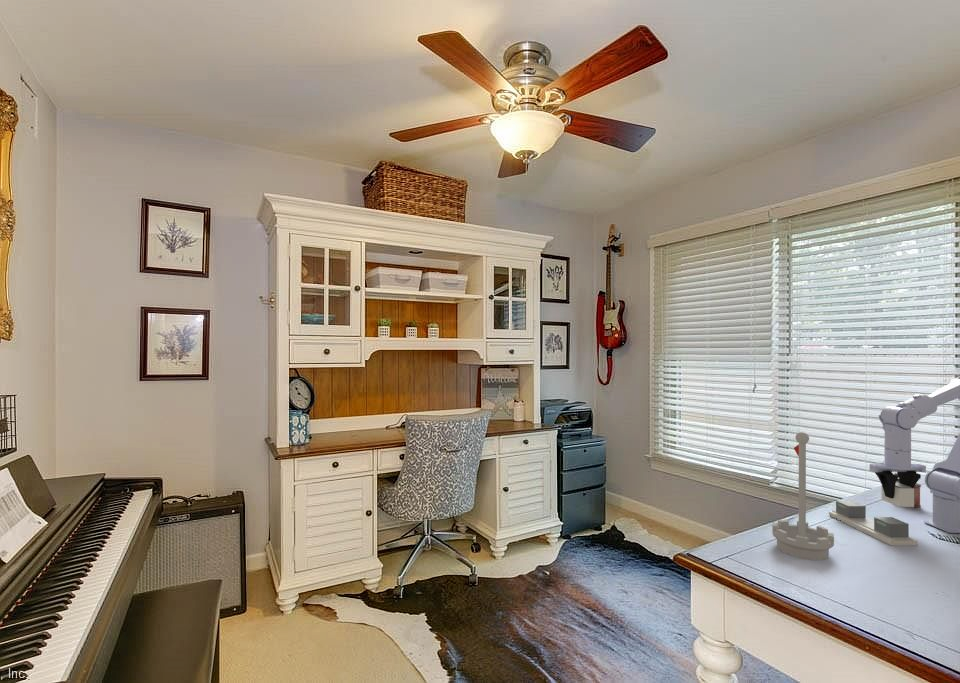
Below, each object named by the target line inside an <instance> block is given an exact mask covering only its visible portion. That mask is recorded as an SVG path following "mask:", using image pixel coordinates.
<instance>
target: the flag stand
mask: <svg viewBox="0 0 960 683" xmlns="http://www.w3.org/2000/svg"><path fill="white" fill-rule="evenodd" d="M795 440H796V442H797V443H798V444H797V445H795V446H794V447H793V449H794V451H795V453H796V455H797V456H798V520H796V524H790V522H789V520H787V519H780V520H777V523H776V522H773V523H772V524H771V525H772V530H771V531H772V532H771V533H772V536H773V537H774V538H775V539H776V547H777V548H778V549H779V550H780V551H781V552H783V553H785V554H786V555H790V556H793V557H796V558H800V559H804V560H812V561H815V560H816V561H819V560H820V561H822V560H821V559H823V560H826V559H828V558H829V557H830V549H831V548H833V547H834V546H835V534H834V533H833V532H829V529H828V528H826V527H824V526H821V525H816V528H815V527H810V526H809V522H807V516H806V514H807V512H806V511H807V504H806V503H807V502H806V501H807V499H806V498H807V497H806V496H807V491H806V490H807V486H806V485H807V482H806V481H807V473H806V472H807V443H808V442H809V441H810V436H809V435H808V434H807V433H806V432H803V431H801V432H798V433H796V434H795ZM828 556H829V557H828Z"/></svg>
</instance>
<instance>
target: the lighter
mask: <svg viewBox="0 0 960 683" xmlns="http://www.w3.org/2000/svg"><path fill="white" fill-rule="evenodd" d="M893 474H894V475H897V476H898V474H897V472H893ZM896 482H898V483H900V481H899V477H898V478H897V481H896ZM921 487H922V485H921V484H920V483H918V482H917V483H916V484H915V486H914V488H913V489H914V507H910V508H912V509H915V510H916V509H922V505H921Z"/></svg>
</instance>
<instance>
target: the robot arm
mask: <svg viewBox="0 0 960 683" xmlns="http://www.w3.org/2000/svg"><path fill="white" fill-rule="evenodd" d="M957 399H958V400H959V401H960V376H957V377H956V378H952V379H950V381H949V383H948V384H946V385H944V386H942V387H941V388H939V389H937V390H935V391H934V392H932V393H930V394H928V395H926V394H917V393H916V394H913V395H912V398H909V399H908V400H905V401H901V402H899V403H898V404H897V405H895V406H893V405H889V406H886V407H884V408H883V409H882V410H881V412H880V414H879V415H878V420H879V422H880V423H881V424H882V430H883V431H884V461H882V462H877V463H869V471H870V472H873V473H875V475H876V477H877V478H878V480H879V482H880V484H881V488H882V487H883V490H884V493H885V496H886V497H889V498H894V493H895V484H896V481H897V478H898V479H899V481H900V483H901V484H904V485H907V486H910V487H911V488H914V486H915V484H916V483H918V481H919V480H920V479H921V478H922V475H921V473H926V474H925V476H924V483H925V486H926V488H928V489H929V490H930V491H929V492H930V494H932V520H924V522H923V523H924V524H926V525H930V526H932V527H934V528H937V529H940V530H942V531H944V532H947V533H951V534H960V432H959V434H958V436H957V437H956V440H955V442H954V444H953V446H952V448H951V449H950V452H949V453H948V456H947V458H946V459H945V460H943V461H942V460H941V461H940V462H939V461H938V462H937V463H935V464H934V466H933V467H932V468H931V469H930V470H929V471H928V472H927V465H925V464H921V463H912V429H914V428H915V427H916V426H917V424H918V422H919V421H920V420H922V419H924V418H926V417H929V416H930V415H932V414H934V413H936V412H937V410H938V407H939V406H943V405H944V404H947V403H949V402H953V401H954V400H957ZM894 473H897V474H898V476H897V475H894Z"/></svg>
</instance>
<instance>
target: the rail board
mask: <svg viewBox="0 0 960 683" xmlns="http://www.w3.org/2000/svg"><path fill="white" fill-rule="evenodd" d="M866 508H867V507H866V505H864V504H862V503H859V502H858V501H857V502H856V501H855V500H852V499H851V500H835V510H832V511H831V510H830V511H828V516H829V515H831V516H833V517H832V518H834V517H835V518H834V519H836V518H837V519H836V520H838V519H839V520H838V521H840V520H841V521H840V522H842V521H843V522H842V523H844V522H845V523H844V524H846V523H847V524H846V525H848V524H849V525H848V526H850V525H851V526H850V527H852V526H853V527H852V528H854V527H855V528H854V529H856V528H857V529H856V530H858V531H860V532H862V533H865V534H867V535H869V536H870V537H873V538H875V539H877V540H879V541H881V542H883V543H885V544H887V545H889V546H918V540H917V539H914V538H913V537H910V536H909V535H910V534H909V529H910V528H909V525H910V524H909V523H908V522H904V521H903V520H900V519H897V518H895V517H893V516H888V517H887V516H877V517H875V516H874V517H873V519H870V518H869V517H867V516H866V515H867V514H866V513H867V512H866V511H867V509H866ZM831 516H830V517H831Z"/></svg>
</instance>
